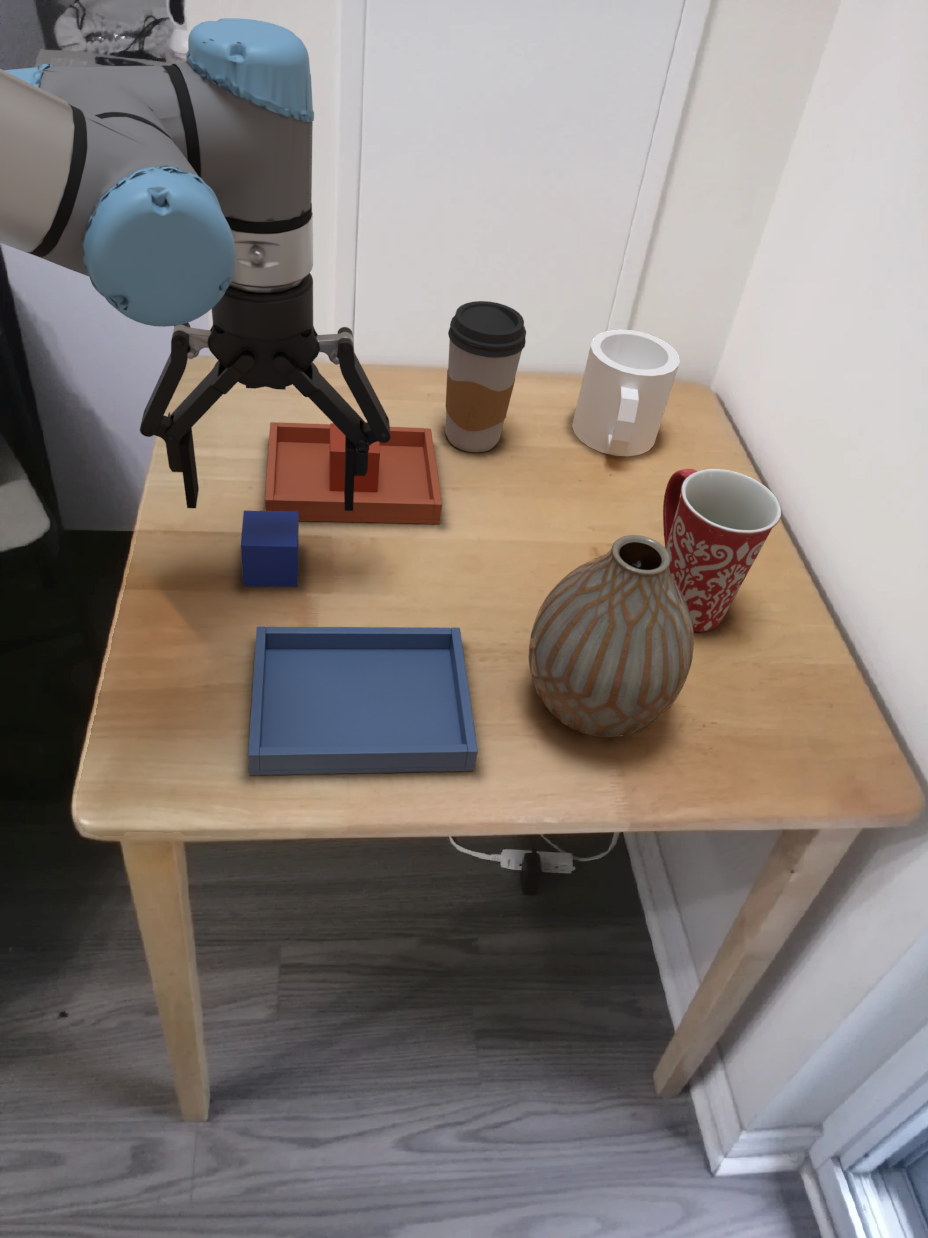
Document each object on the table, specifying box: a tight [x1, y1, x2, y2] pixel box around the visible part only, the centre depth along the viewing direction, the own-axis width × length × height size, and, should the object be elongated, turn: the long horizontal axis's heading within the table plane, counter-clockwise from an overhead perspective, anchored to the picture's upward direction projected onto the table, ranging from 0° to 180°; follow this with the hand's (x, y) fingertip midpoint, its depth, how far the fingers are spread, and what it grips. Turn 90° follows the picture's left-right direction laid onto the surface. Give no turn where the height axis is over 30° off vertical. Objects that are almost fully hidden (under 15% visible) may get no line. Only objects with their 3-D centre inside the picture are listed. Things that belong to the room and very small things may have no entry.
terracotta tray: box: [264, 421, 443, 525], centre depth 99 cm, size 18×14×3 cm
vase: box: [528, 534, 695, 738], centre depth 76 cm, size 13×13×18 cm
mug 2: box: [662, 468, 782, 633], centre depth 89 cm, size 13×9×14 cm
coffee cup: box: [444, 300, 527, 453], centre depth 103 cm, size 8×8×15 cm
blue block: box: [240, 509, 300, 588], centre depth 87 cm, size 5×5×5 cm
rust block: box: [329, 422, 380, 492], centre depth 98 cm, size 5×5×5 cm
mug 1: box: [571, 328, 680, 457], centre depth 108 cm, size 14×10×11 cm
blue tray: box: [247, 626, 479, 776], centre depth 78 cm, size 18×14×3 cm
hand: (271, 500), depth 84 cm, fingers open, 13 cm apart
